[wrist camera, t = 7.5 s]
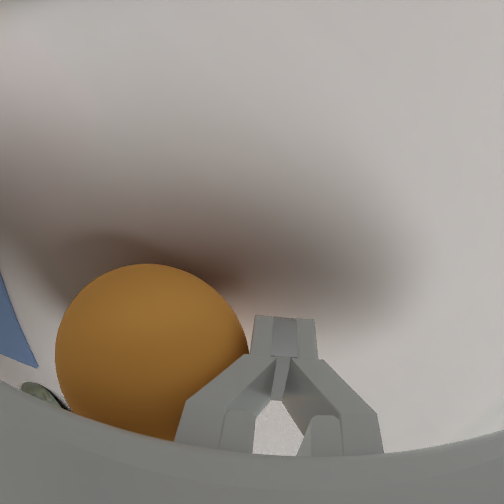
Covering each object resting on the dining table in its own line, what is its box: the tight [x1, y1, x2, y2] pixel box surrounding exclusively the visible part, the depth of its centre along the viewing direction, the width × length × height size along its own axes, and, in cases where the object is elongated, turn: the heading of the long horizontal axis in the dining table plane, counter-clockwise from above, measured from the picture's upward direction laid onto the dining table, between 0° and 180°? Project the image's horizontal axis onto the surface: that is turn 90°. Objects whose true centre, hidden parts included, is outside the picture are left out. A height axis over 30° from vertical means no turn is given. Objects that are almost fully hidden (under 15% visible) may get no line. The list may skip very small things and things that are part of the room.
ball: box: [55, 264, 249, 442], centre depth 9 cm, size 6×6×6 cm
